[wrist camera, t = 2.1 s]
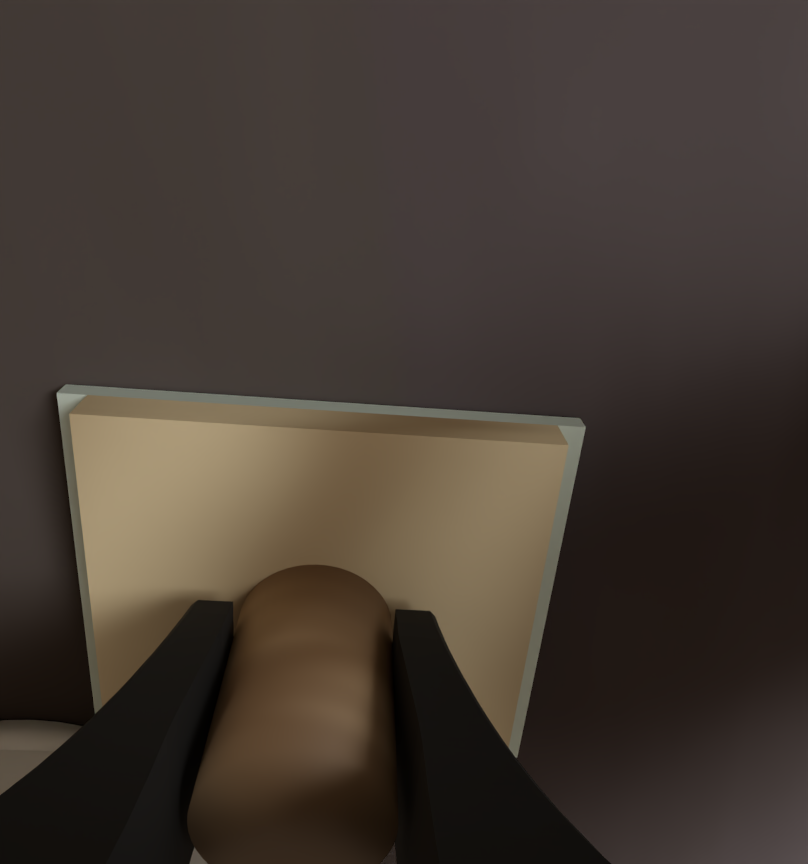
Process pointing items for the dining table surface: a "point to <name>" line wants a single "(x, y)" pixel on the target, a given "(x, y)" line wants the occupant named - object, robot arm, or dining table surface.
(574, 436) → the plate
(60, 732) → the bowl
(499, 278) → the dining table surface
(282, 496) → the lid
